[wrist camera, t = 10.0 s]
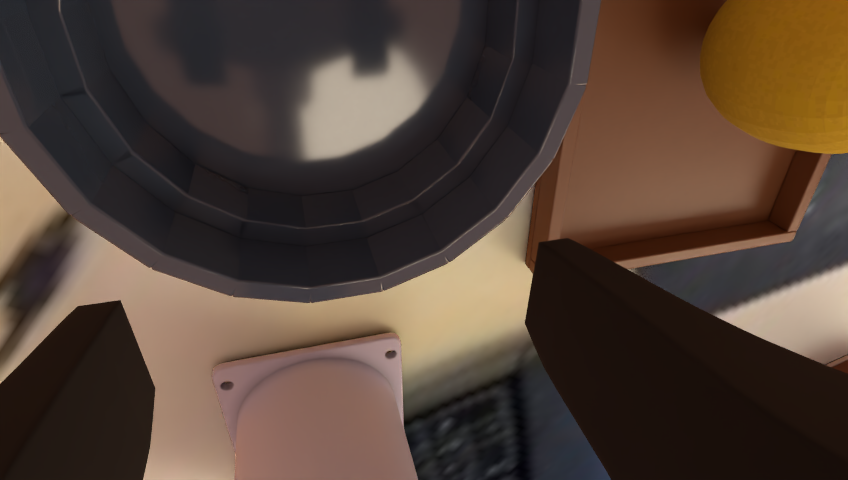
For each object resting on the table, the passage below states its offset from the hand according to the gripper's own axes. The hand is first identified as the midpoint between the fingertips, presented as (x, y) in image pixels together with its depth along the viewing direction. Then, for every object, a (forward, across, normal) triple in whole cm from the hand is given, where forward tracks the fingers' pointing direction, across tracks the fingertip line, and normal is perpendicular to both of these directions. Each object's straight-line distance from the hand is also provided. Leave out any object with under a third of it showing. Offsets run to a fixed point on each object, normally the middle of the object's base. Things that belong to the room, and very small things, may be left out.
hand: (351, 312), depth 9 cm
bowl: (+10, 0, -3) cm, 11 cm away
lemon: (+10, -15, -2) cm, 18 cm away
